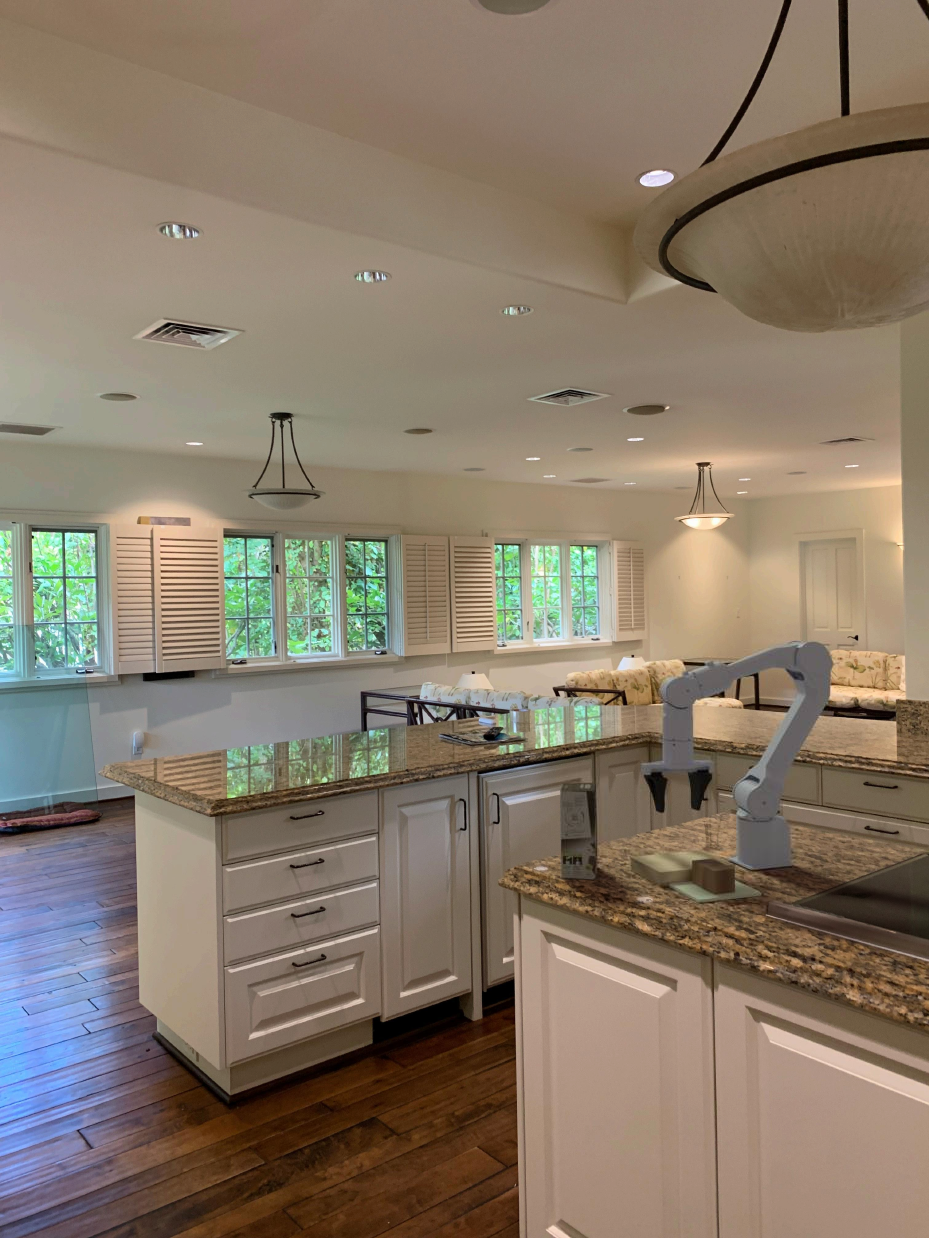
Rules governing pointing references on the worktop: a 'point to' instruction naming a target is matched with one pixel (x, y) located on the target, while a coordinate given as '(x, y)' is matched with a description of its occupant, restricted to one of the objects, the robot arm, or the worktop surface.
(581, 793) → the coffee box
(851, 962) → the worktop surface
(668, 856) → the maple board
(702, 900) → the green mat
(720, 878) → the walnut block
